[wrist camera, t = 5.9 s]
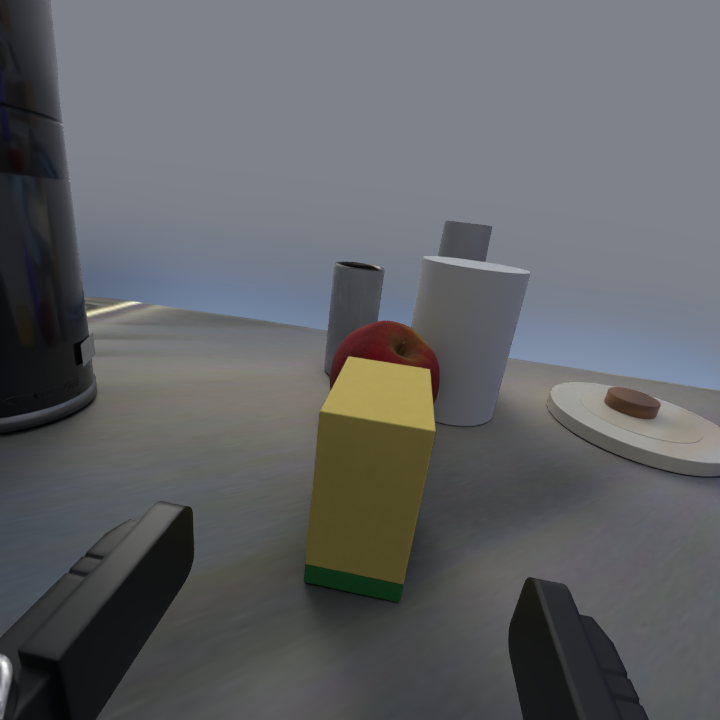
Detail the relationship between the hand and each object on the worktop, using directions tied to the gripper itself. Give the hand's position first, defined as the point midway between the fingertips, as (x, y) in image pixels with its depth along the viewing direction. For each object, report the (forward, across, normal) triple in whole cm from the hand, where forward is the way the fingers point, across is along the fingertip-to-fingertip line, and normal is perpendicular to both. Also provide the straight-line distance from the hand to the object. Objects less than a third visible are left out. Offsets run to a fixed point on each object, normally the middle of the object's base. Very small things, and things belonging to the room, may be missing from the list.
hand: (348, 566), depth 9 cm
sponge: (+8, 0, +7) cm, 10 cm away
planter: (+28, +4, +7) cm, 30 cm away
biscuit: (+28, -22, +5) cm, 35 cm away
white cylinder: (+25, -5, +7) cm, 26 cm away
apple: (+18, 0, +7) cm, 20 cm away
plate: (+26, -22, +7) cm, 35 cm away
